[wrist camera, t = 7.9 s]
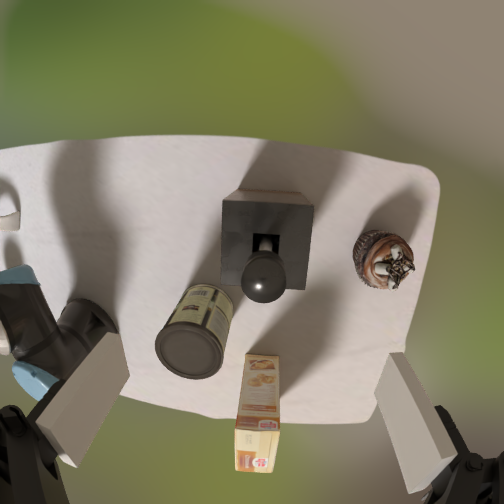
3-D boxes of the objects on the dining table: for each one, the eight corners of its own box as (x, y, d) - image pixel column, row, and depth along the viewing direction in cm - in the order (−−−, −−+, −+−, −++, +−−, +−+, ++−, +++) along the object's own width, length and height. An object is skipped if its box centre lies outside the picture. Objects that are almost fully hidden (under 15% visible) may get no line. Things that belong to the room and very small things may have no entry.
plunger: (241, 248, 43) (219, 317, 24) (243, 202, 41) (220, 237, 22) (288, 251, 43) (302, 323, 24) (292, 205, 41) (312, 243, 21)
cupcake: (367, 214, 45) (390, 227, 36) (406, 243, 46) (433, 261, 37) (337, 261, 48) (352, 284, 38) (377, 286, 49) (397, 312, 39)
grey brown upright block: (235, 248, 48) (220, 284, 34) (237, 188, 45) (222, 200, 31) (295, 252, 48) (304, 290, 34) (300, 192, 45) (314, 205, 31)
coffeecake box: (244, 353, 55) (233, 428, 36) (280, 355, 54) (282, 431, 36) (243, 402, 59) (234, 471, 41) (274, 404, 59) (273, 473, 40)
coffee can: (200, 339, 54) (181, 386, 41) (170, 297, 52) (141, 338, 39) (244, 319, 52) (236, 368, 39) (215, 274, 50) (195, 313, 37)
